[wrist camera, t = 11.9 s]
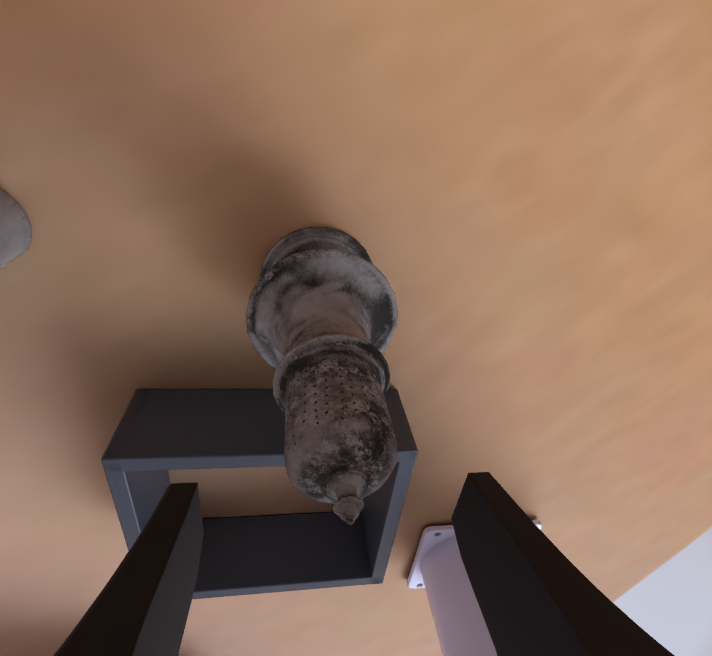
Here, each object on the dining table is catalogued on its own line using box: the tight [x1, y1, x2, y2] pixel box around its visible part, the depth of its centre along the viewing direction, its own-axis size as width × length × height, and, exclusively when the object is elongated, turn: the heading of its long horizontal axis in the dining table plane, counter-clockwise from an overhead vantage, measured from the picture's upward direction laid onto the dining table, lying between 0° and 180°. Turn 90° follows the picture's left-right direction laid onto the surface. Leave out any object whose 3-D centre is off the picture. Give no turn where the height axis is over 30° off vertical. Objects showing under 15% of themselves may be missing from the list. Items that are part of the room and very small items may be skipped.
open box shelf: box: [101, 389, 418, 599], centre depth 22 cm, size 14×12×4 cm
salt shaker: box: [246, 227, 398, 525], centre depth 14 cm, size 6×6×12 cm
